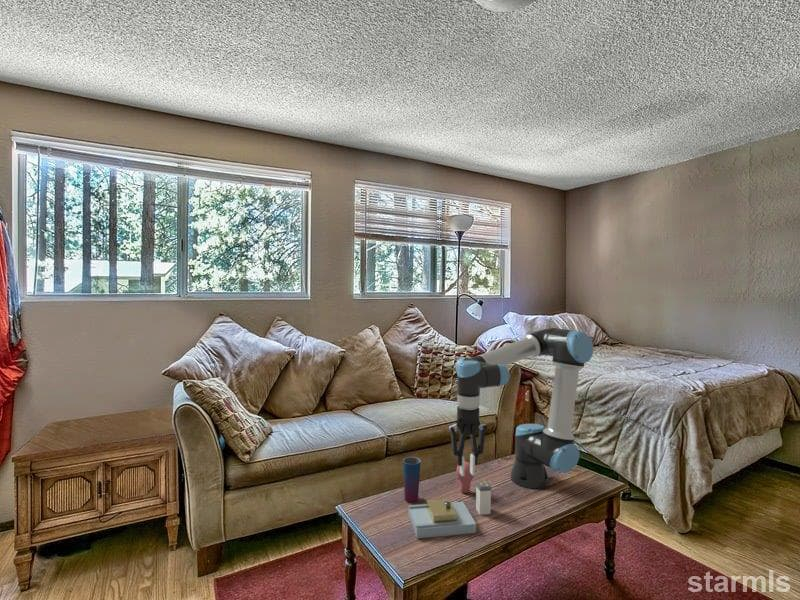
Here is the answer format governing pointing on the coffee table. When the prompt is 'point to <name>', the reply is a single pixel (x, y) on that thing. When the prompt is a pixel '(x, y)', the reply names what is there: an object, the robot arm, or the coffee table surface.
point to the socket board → (429, 529)
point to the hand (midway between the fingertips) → (467, 473)
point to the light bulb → (465, 478)
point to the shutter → (441, 510)
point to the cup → (411, 478)
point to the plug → (483, 497)
